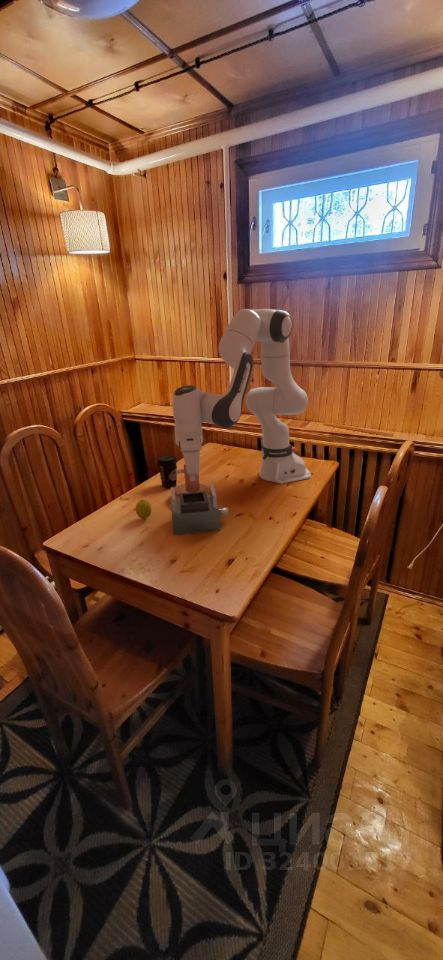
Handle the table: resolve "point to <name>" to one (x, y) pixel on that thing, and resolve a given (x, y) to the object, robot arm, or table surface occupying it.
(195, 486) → the pink cylinder with stub
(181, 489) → the pie
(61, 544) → the table surface
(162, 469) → the coffee cup
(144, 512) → the lemon
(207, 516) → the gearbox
